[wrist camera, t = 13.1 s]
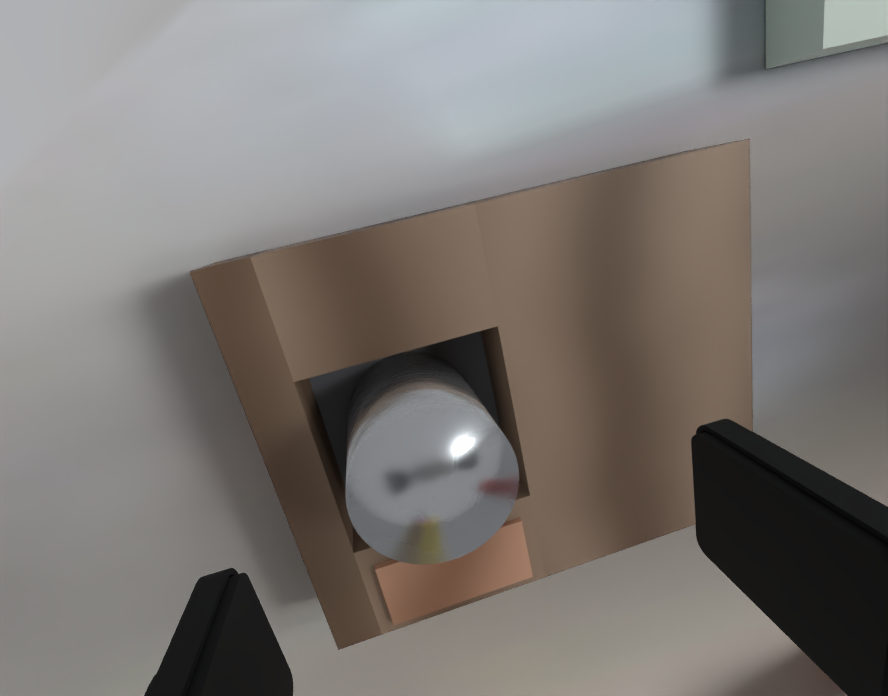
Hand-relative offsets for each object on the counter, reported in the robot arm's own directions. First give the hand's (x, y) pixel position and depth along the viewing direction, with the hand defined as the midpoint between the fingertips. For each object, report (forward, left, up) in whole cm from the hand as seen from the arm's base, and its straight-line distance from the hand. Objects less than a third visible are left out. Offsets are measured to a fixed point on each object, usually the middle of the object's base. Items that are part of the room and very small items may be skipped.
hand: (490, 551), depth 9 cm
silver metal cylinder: (+1, 0, -8) cm, 8 cm away
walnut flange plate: (-3, 0, -8) cm, 8 cm away
